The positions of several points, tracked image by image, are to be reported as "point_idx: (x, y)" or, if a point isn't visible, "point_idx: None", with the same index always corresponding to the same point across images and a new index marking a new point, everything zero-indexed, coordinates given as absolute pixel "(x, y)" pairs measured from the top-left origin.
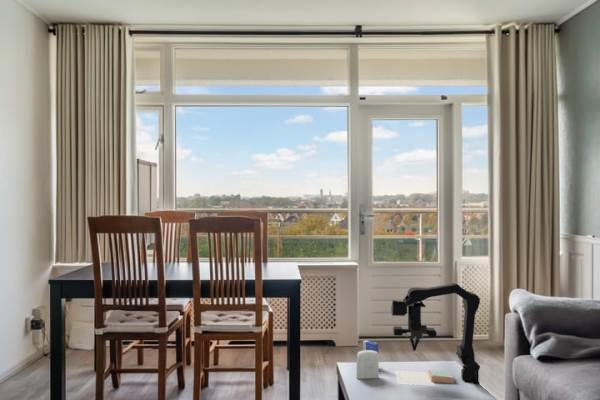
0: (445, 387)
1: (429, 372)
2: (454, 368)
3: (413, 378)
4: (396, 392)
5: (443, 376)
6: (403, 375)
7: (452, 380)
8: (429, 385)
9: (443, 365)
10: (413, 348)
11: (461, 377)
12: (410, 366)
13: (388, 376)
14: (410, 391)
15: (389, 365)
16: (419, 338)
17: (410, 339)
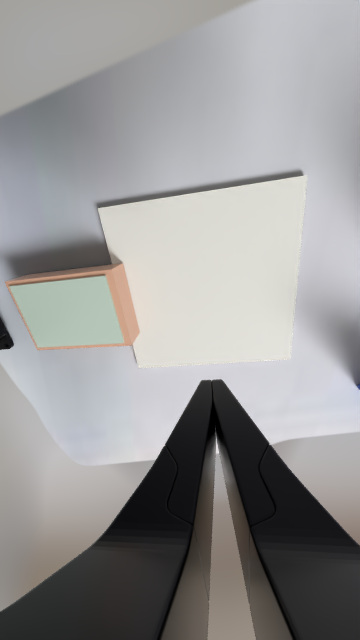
0: (55, 218)
1: (127, 323)
2: (57, 422)
3: (208, 285)
4: (347, 10)
5: (53, 281)
6: (255, 312)
7: (22, 277)
8: (128, 205)
9: (95, 439)
10: (225, 394)
11: (2, 331)
12: None
13: (332, 296)
14: (241, 76)
15: (296, 414)
16: (57, 611)
17: (357, 558)
